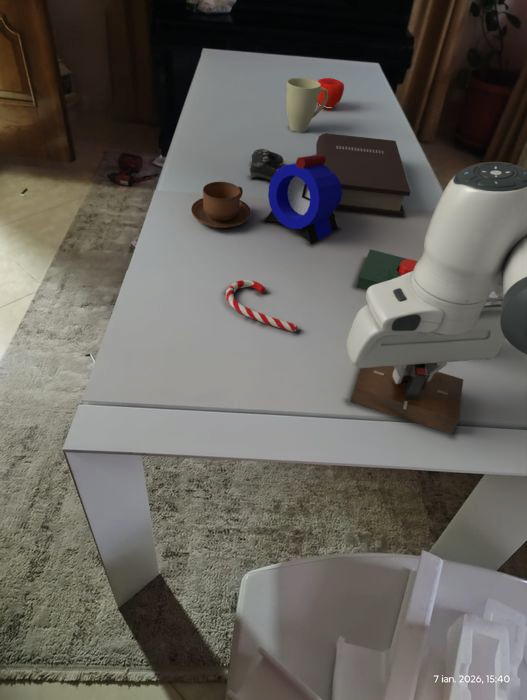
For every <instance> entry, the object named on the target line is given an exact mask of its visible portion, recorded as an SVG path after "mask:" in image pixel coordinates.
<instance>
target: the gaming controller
mask: <svg viewBox="0 0 527 700" xmlns="http://www.w3.org/2000/svg"><path fill="white" fill-rule="evenodd" d="M283 163H284V157H283V156H282V155H281V154H279V153H277V152H274V151H270V150H269V149H265V148H259V149H256V150H254V151H253V153H252V154H251V164H250V167H249V173H250V175H249V176H250V179H253V178H259V177H260V178H262V179H264V180H265V179H266V181H270V182H271V179H272V177H273V175H274V174H275V173H276V171H277V170H278V169H276V168H274V167H273V166H280V165H282V164H283Z"/></svg>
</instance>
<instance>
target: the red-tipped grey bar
mask: <svg viewBox="0 0 527 700" xmlns="http://www.w3.org/2000/svg"><path fill="white" fill-rule="evenodd" d="M406 369H407V372H408V373H409V375H410V376H409V379H408V380H407V383H405V389H406V398H409V399H415V400H416V399H417V397H418V395H419V392H420V390H421V388H422V386H423V383H424V381H425V379H426V369H425V364H413V365H407V367H406Z"/></svg>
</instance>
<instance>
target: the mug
mask: <svg viewBox="0 0 527 700" xmlns="http://www.w3.org/2000/svg"><path fill="white" fill-rule="evenodd" d="M317 81H318V80H315V79H312V78H308V77H307V78H306V77H292V78H289V79H287V80H286V96H285V97H286V99H285V100H286V102H285V105H286V115H287V121H288V125H289V130H291V132H296V133H305V132H307V131H308V128H309V126H310V123H311V122H312V119H314V118H315V117H316V116H317V115H318V114H319V113H320V112H321V111H322V110H324V109H323V107H324V106H325V104H326V102H327V99H328V92H327V90H326V89H325V88H320V86H321V84H320V83H319V82H317ZM323 90H324V92H325V96H324V101H323V103H322V104H321V106H320V107H319V106H318V104H317V101H318V96H319V93H320V92H321V91H323ZM317 106H318V108H317Z"/></svg>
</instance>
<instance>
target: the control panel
mask: <svg viewBox="0 0 527 700" xmlns="http://www.w3.org/2000/svg"><path fill="white" fill-rule="evenodd" d="M394 369H395V367H394V366H384V367H370V368H359V372H358V374H357V378H356V381H355V385H354V388H353V391H352V394H351V397H350V403H352V404H356V405H359V406H362V407H365V408H369V409H371V410H374V411H378V412H381V413H384V414H388V415H391V416H394V417H396V418H400V419H403V420H405V421H406V420H407V421H410V422H412V423H415V424H418V425H421V426H425V427H429V428H432V429H434V430H438V431H441V432H443V433H447V434H450V435H452V434H453V432H454V431H455V429H456V427H457V425H458V423H459V421H460V415H461V405H462V394H463V386H464V384H463V383H464V379H463V378H461V377H457V376H454V375H451V374H447V373H444V372H440V371H438V372H436V373H435V374H433V377H432V379H431V381H430V382H424V383H423V386H422V388H421V390H420V392H419V395H418V397H417V399H416V400H415V399H409V398H406V389H405V383H402V384H396V383H395V381H394V379H393V372H394Z"/></svg>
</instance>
